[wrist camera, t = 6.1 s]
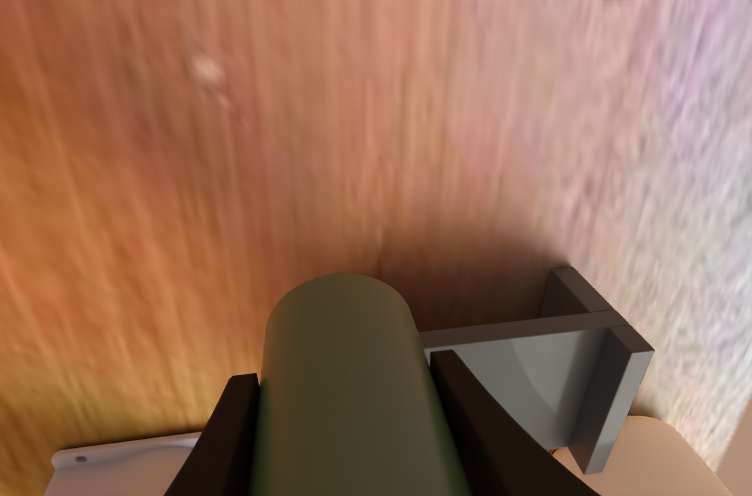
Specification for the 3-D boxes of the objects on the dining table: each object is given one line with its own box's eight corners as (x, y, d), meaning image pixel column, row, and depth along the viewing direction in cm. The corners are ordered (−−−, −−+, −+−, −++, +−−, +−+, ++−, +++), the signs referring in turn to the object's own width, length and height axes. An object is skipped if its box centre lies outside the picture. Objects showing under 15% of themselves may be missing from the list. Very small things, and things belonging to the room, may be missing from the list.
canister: (274, 394, 15) (245, 795, 7) (250, 277, 12) (172, 703, 5) (413, 377, 15) (516, 732, 8) (417, 261, 13) (572, 621, 5)
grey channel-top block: (343, 403, 24) (354, 512, 19) (334, 289, 20) (345, 388, 15) (543, 377, 26) (602, 472, 21) (572, 266, 22) (655, 349, 17)
